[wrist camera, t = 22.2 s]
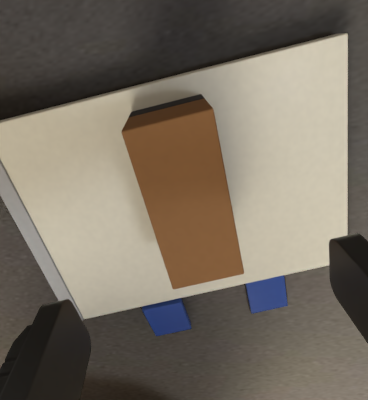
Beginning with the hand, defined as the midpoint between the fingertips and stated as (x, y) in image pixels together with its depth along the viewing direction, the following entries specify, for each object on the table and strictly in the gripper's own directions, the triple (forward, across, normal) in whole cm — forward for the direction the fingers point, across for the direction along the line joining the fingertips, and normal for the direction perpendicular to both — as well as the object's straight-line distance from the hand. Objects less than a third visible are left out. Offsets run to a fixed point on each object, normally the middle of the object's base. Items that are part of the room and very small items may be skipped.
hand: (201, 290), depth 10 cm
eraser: (+10, 0, 0) cm, 10 cm away
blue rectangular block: (+11, +4, +12) cm, 17 cm away
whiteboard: (+12, 0, +2) cm, 12 cm away
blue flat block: (+12, -4, +12) cm, 17 cm away
